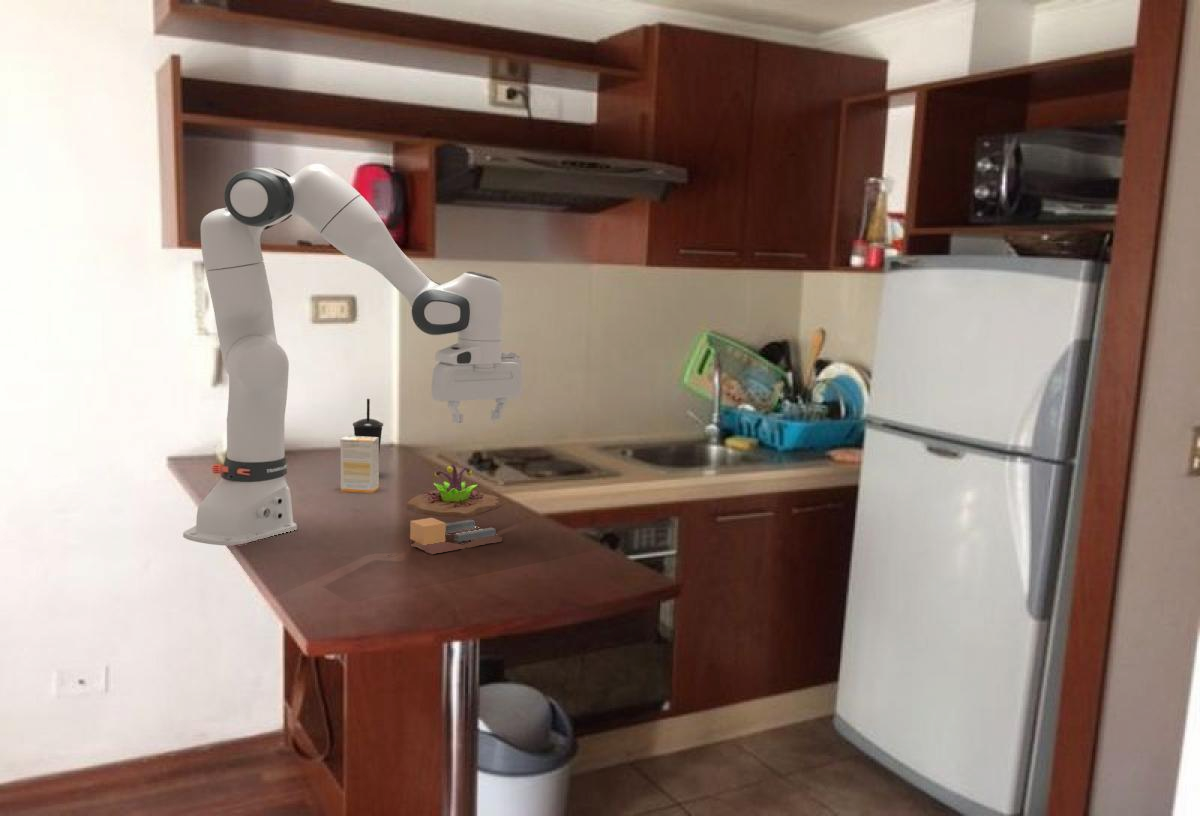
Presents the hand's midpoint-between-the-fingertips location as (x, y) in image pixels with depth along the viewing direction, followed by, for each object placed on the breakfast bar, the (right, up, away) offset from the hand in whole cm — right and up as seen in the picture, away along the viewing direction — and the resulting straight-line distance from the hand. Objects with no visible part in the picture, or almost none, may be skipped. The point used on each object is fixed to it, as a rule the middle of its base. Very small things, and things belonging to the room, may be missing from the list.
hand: (477, 420), depth 204 cm
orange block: (-9, -24, -6) cm, 26 cm away
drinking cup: (-35, -15, +54) cm, 66 cm away
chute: (-5, -24, -1) cm, 25 cm away
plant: (-9, -21, +24) cm, 33 cm away
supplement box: (-33, -18, +38) cm, 53 cm away
